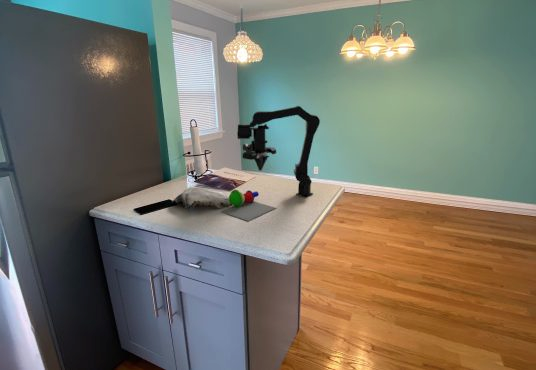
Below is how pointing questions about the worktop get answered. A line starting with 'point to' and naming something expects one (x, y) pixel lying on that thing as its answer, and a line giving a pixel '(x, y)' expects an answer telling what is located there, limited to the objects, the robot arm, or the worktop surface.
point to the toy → (241, 197)
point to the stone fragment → (202, 198)
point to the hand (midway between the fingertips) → (260, 170)
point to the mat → (248, 210)
